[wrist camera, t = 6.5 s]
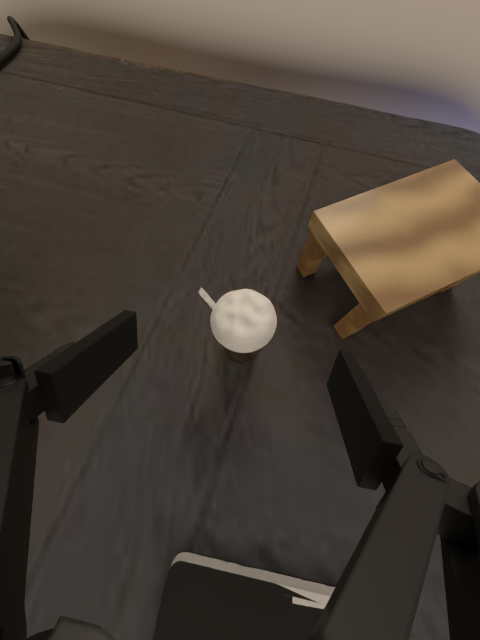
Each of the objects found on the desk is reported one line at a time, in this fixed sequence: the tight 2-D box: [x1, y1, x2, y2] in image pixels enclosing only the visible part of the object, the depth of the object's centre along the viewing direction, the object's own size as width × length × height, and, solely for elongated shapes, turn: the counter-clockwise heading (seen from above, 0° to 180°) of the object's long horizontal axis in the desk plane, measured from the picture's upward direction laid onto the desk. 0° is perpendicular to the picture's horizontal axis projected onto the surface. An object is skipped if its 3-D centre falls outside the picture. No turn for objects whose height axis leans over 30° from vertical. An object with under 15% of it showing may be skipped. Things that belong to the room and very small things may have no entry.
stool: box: [297, 159, 480, 339], centre depth 23 cm, size 10×15×8 cm, turn 114°
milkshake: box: [198, 287, 277, 364], centre depth 20 cm, size 4×5×10 cm
